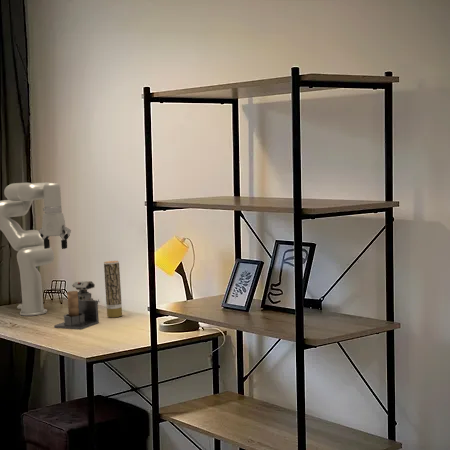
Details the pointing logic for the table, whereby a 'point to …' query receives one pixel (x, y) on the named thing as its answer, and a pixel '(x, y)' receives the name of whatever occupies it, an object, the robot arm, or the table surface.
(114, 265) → the paper tube
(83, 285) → the figurine
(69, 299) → the brown wooden cylinder
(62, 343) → the table surface
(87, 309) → the bracket
